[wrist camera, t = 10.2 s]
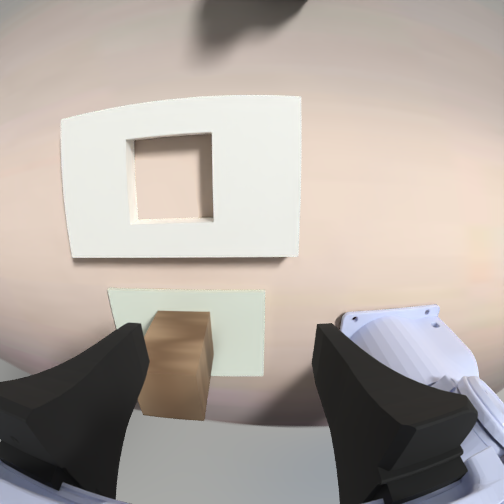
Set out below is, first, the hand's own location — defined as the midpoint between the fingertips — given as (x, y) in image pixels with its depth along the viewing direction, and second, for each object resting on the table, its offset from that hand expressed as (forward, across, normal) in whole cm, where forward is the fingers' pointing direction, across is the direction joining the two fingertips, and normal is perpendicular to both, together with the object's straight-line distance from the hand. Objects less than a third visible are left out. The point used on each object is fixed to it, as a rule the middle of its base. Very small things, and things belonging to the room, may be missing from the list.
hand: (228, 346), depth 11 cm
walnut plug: (+9, +4, +6) cm, 11 cm away
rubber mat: (+9, +4, +6) cm, 12 cm away
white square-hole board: (+9, +4, -6) cm, 12 cm away
